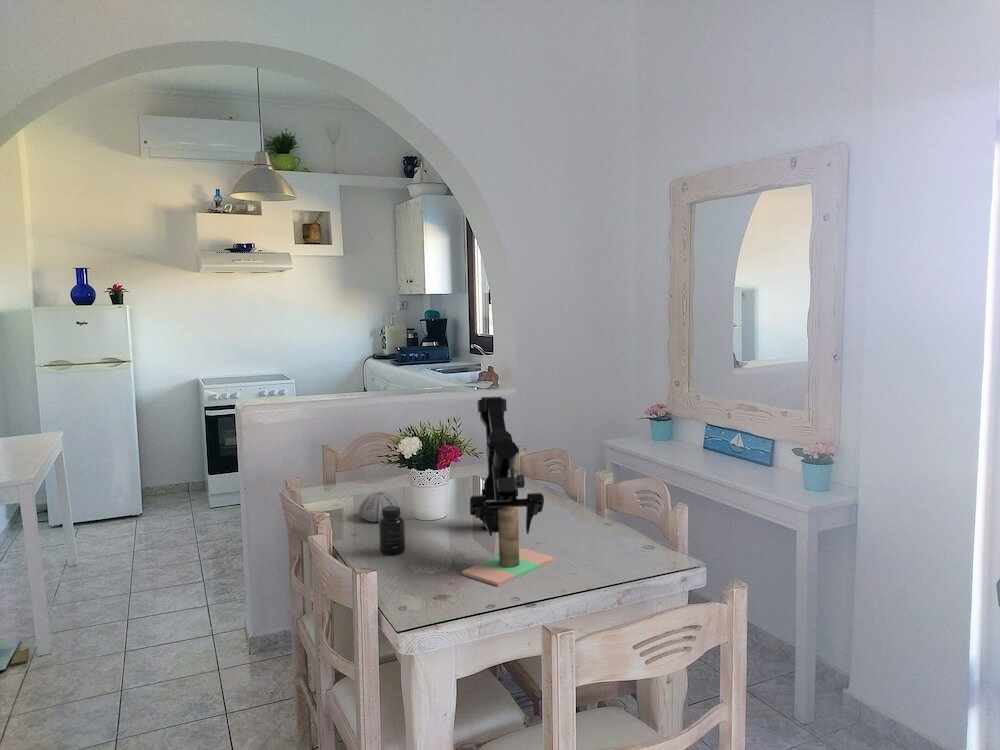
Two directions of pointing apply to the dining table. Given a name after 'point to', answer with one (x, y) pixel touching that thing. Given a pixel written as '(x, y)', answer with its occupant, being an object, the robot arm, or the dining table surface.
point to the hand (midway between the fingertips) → (509, 534)
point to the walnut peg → (508, 537)
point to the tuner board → (500, 575)
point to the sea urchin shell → (376, 505)
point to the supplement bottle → (391, 531)
